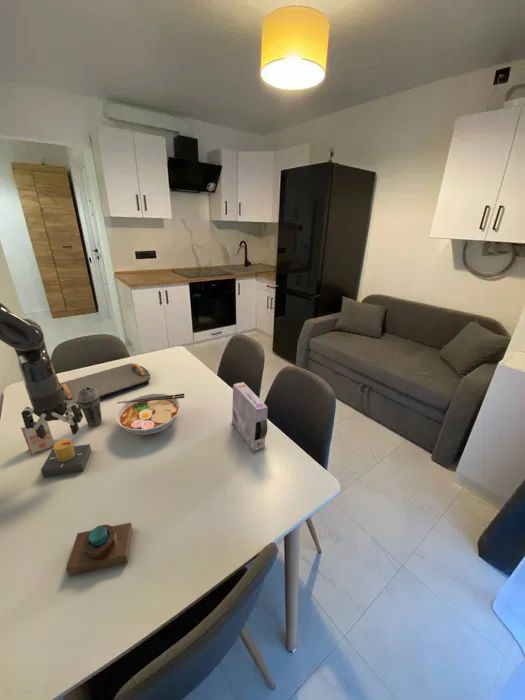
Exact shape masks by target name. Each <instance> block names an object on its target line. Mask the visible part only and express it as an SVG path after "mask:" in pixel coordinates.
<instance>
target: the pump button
mask: <svg viewBox="0 0 525 700" xmlns="http://www.w3.org/2000/svg"><path fill="white" fill-rule="evenodd" d="M98 526H99V527H98ZM98 526H96V527H94V528H95V529H94V528H93V529H91V530H92V531H91V530H90V531H91V533H90V534H89V540H90V543H91V546H93V547H99V546H101V545H103V544H104V543H105V542H106V541H107V539H108V533H107V530H106V528H105V527H104V526H101V525H98Z"/></svg>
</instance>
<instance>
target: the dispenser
mask: <svg viewBox="0 0 525 700" xmlns="http://www.w3.org/2000/svg"><path fill="white" fill-rule="evenodd" d="M99 526H104V527H105V528H106V530H107V533H108V539H107V541H106V542H105V543H104V544H103V545H101V546H99V547H93V546H91V543H90V540H89V534H90V533H91V531H92V530H93V529H95V528H96V527H94V528H93V529H91V530H87V531H82V532H78V533H76V536H75V540H74V542H73V547H72V548H71V553H70V555H69V558H68V561H67V564H66V568H65V569H66V572H67V575H68V577H69V578H70V577H74V576H78V575H82V574H86V573H91V572H96V571H100V570H103V569H104V570H105V569H107V568H112V567H116V566H120V565H121V566H122V565H125V564H128V563H129V558H130V551H131V545H132V539H133V538H132V537H133V532H134V529H133V525H132V522H127V523H121V524H117V525H109V524H102V525H101V524H100V525H98V526H97V527H99Z"/></svg>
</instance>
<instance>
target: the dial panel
mask: <svg viewBox="0 0 525 700" xmlns="http://www.w3.org/2000/svg"><path fill="white" fill-rule="evenodd" d="M73 447H74V451H75V456H74V457H73V458H72V459H70V460H68V461H65V462H59V461H58V460H57V457H56V454H55V451H54V448H53V449H51V451H50V453H49V454H48V456H47V458H46V460H45V462H44V464H43V466H42V467H41V468H40V472H41V475H42V477H43V478H49V477H50V478H51V477H56V476H62V475H69V474H75V473H81V472H85V469H86V466H87V464H88V461H89V459H90V456H91V454H92V448H91V444H89V443H87V444H79V445H73Z"/></svg>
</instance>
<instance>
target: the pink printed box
mask: <svg viewBox="0 0 525 700" xmlns="http://www.w3.org/2000/svg"><path fill="white" fill-rule="evenodd" d="M41 425H43V426H44V429H45V432H46V436H45V438H44V439H40V437H38V436H37V433H36V431H35V429H33V428H30V429H27V428H26V427H25V426H22V427H21V428H20V430H21V432H22V434H23V438H24V440H25V444H26V446H27V448H28V451H29V453H30V455H31V456H32V455H35V454H37V453H40V452H43V451H45V450H47V449H51V448H53V446H54V444H55V443H56V442H55V440H54V437H53V434H52V432H51V428H50V426H49V423H48V421H46V420H44V421H43V422H42V424H41ZM32 453H33V454H32Z"/></svg>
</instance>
